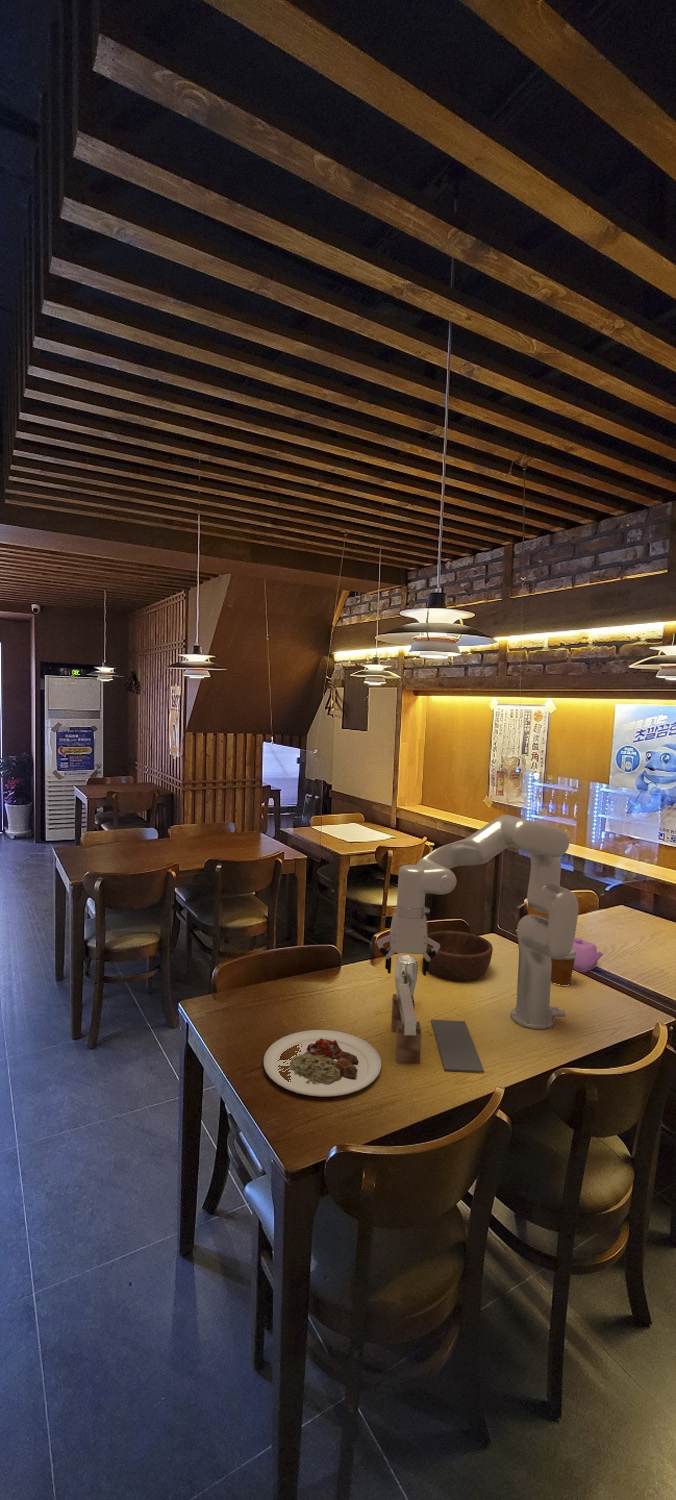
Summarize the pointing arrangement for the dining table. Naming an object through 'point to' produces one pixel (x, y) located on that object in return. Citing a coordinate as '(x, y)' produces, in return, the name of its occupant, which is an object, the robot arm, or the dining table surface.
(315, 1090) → the plated food
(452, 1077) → the dining table surface
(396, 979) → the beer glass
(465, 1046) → the mat
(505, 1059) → the dining table surface
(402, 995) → the rail
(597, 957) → the teapot
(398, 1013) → the post
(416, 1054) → the post
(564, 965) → the disposable coffee cup
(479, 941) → the wooden bowl
